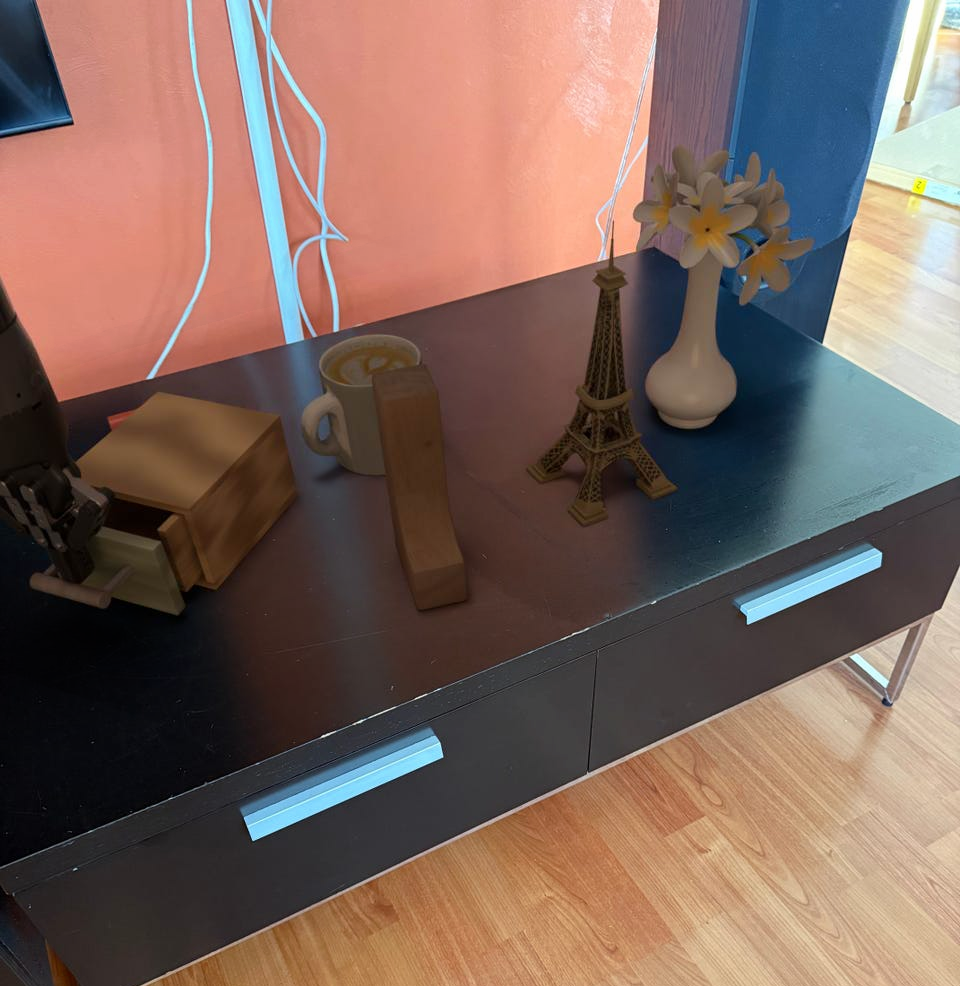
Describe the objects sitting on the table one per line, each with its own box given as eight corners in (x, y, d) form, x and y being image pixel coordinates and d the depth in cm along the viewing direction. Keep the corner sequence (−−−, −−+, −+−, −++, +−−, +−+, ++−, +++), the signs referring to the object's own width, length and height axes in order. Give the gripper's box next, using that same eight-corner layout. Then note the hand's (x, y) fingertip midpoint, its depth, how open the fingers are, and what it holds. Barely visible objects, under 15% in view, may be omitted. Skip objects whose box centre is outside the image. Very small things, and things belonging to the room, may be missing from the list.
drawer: (144, 653, 78) (115, 588, 73) (26, 618, 82) (-10, 553, 76) (261, 521, 89) (243, 456, 84) (152, 495, 93) (129, 432, 88)
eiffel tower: (614, 437, 98) (630, 184, 80) (676, 490, 91) (709, 227, 73) (525, 469, 95) (521, 214, 77) (583, 527, 88) (593, 261, 70)
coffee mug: (403, 410, 103) (393, 324, 96) (447, 454, 97) (439, 366, 90) (289, 450, 99) (269, 363, 92) (327, 499, 93) (308, 409, 86)
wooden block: (468, 601, 82) (454, 420, 69) (417, 612, 81) (393, 432, 68) (443, 537, 88) (425, 361, 75) (395, 548, 87) (369, 371, 74)
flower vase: (713, 479, 92) (755, 217, 74) (589, 400, 103) (599, 154, 85) (805, 430, 97) (864, 174, 79) (678, 360, 108) (704, 120, 90)
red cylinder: (105, 412, 101) (110, 426, 103) (111, 430, 100) (116, 443, 102) (170, 395, 103) (174, 408, 105) (177, 412, 102) (181, 425, 104)
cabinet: (216, 590, 84) (188, 508, 78) (93, 557, 88) (57, 477, 82) (298, 495, 93) (280, 415, 87) (183, 469, 98) (157, 391, 91)
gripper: (-124, 400, 65) (-15, 588, 77) (28, 433, 61) (117, 625, 73) (-44, 347, 69) (46, 532, 82) (102, 374, 66) (173, 564, 78)
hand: (80, 576), depth 77 cm, fingers closed
